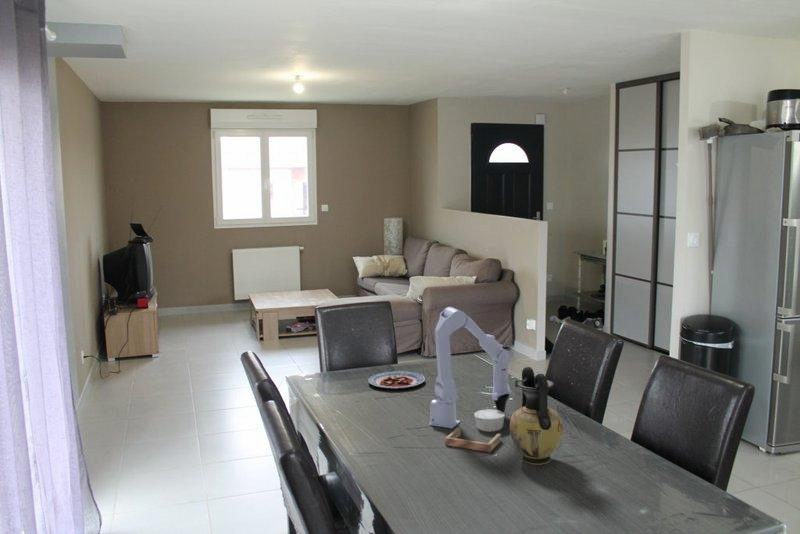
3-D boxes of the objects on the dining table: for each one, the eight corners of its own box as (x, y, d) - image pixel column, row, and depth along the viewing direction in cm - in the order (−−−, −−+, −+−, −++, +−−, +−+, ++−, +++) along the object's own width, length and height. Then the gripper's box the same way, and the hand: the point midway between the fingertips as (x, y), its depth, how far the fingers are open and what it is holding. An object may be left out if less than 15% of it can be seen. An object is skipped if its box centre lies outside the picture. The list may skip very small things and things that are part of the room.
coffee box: (532, 430, 253) (532, 387, 251) (514, 429, 254) (514, 386, 252) (533, 421, 262) (532, 380, 260) (515, 420, 263) (515, 379, 261)
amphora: (499, 454, 231) (498, 367, 227) (542, 445, 238) (542, 360, 234) (529, 474, 215) (529, 380, 211) (574, 464, 222) (574, 373, 218)
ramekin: (468, 428, 257) (468, 414, 256) (486, 420, 265) (485, 407, 264) (493, 435, 249) (493, 421, 248) (510, 426, 257) (510, 413, 256)
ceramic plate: (425, 391, 303) (425, 385, 303) (366, 392, 303) (366, 386, 303) (424, 375, 328) (424, 369, 328) (370, 376, 329) (369, 370, 329)
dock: (445, 444, 241) (445, 437, 241) (457, 434, 251) (457, 427, 251) (490, 452, 233) (489, 445, 233) (500, 440, 243) (500, 433, 243)
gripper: (504, 385, 258) (504, 420, 260) (516, 374, 271) (516, 408, 273) (486, 382, 261) (487, 417, 263) (499, 373, 274) (499, 406, 276)
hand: (500, 412), depth 268 cm, fingers closed
